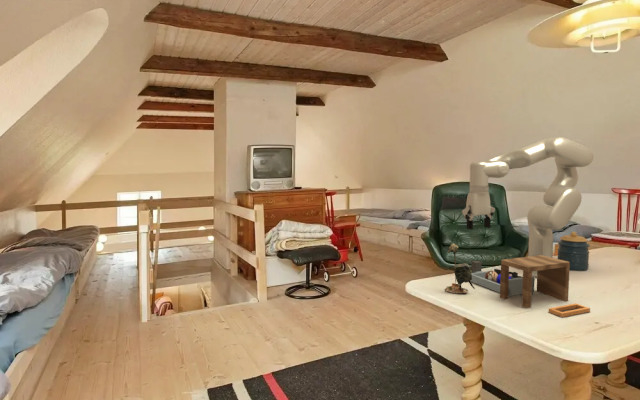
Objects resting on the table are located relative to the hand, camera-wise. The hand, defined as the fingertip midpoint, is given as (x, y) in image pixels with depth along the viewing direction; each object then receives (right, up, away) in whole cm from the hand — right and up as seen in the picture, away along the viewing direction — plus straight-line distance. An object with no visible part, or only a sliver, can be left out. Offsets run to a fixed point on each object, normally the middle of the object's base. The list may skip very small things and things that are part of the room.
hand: (478, 228), depth 169 cm
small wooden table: (+10, -25, -26) cm, 37 cm away
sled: (+3, -23, -9) cm, 25 cm away
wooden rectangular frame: (+14, -26, -40) cm, 49 cm away
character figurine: (+5, -24, -13) cm, 28 cm away
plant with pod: (-15, -24, -17) cm, 33 cm away
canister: (+53, -21, +16) cm, 59 cm away
